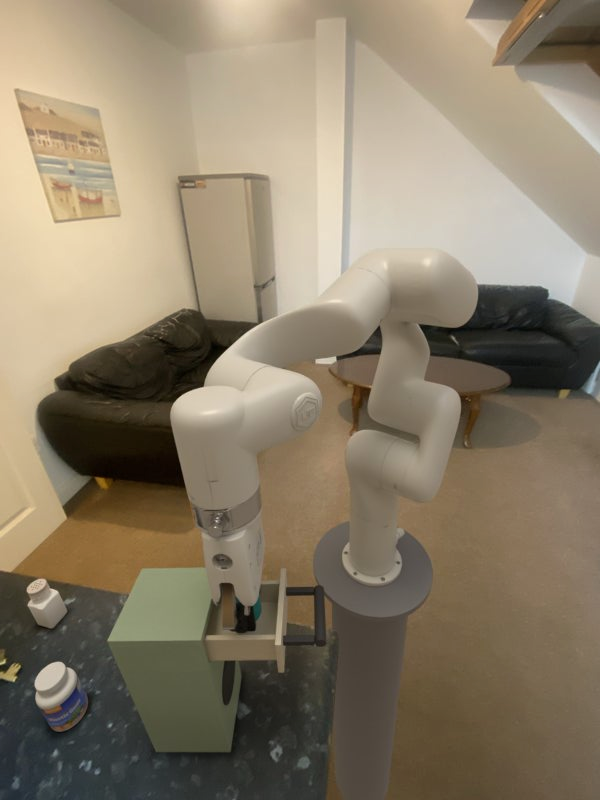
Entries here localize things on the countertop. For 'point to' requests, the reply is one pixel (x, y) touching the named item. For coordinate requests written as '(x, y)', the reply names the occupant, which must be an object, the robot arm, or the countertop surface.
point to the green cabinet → (175, 662)
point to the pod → (255, 608)
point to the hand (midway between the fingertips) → (246, 610)
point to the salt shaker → (45, 604)
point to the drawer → (266, 626)
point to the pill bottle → (60, 696)
